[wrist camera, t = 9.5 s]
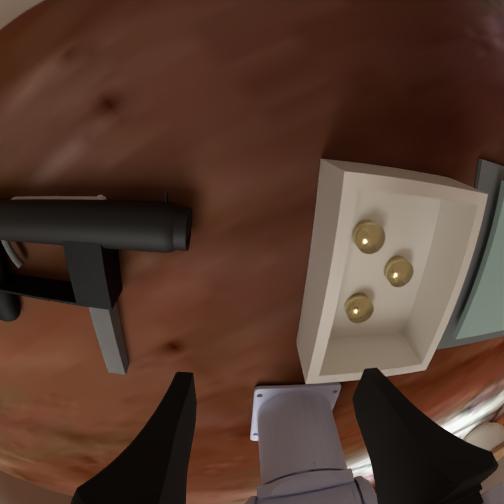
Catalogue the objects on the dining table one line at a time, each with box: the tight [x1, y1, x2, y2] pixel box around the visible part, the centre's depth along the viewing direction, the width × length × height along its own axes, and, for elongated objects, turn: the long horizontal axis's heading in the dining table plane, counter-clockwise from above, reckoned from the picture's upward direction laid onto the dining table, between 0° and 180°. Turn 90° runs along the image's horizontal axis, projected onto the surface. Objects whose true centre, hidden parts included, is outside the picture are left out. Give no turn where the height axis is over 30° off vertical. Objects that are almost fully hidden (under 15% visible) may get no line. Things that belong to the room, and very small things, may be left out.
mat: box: [436, 159, 504, 350], centre depth 22 cm, size 18×14×1 cm
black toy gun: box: [0, 189, 192, 375], centre depth 20 cm, size 3×20×16 cm
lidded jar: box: [464, 421, 504, 461], centre depth 33 cm, size 11×11×9 cm
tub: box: [296, 159, 488, 384], centre depth 19 cm, size 14×10×4 cm
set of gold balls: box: [344, 219, 414, 323], centre depth 20 cm, size 8×5×1 cm, turn 177°
